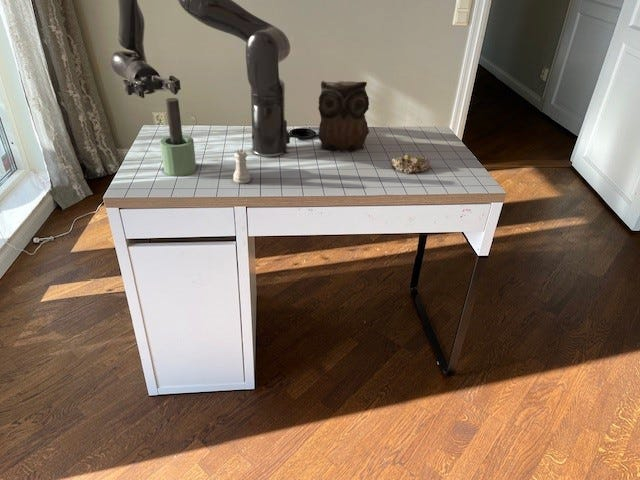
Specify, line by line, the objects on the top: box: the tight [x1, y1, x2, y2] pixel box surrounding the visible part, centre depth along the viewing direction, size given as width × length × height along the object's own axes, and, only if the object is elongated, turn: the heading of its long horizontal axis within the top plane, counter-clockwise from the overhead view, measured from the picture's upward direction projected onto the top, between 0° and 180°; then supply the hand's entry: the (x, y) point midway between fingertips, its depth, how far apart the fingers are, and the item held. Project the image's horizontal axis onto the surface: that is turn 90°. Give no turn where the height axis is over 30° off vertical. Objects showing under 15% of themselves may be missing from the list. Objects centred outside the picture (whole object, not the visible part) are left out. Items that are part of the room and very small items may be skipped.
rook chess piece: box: [232, 149, 251, 185], centre depth 124 cm, size 4×4×8 cm
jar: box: [159, 134, 197, 177], centre depth 128 cm, size 8×8×8 cm
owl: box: [317, 80, 370, 153], centre depth 143 cm, size 13×13×20 cm
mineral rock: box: [391, 153, 431, 174], centre depth 137 cm, size 11×4×8 cm
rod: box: [165, 97, 183, 145], centre depth 125 cm, size 4×4×18 cm
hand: (159, 92), depth 128 cm, fingers open, 8 cm apart
